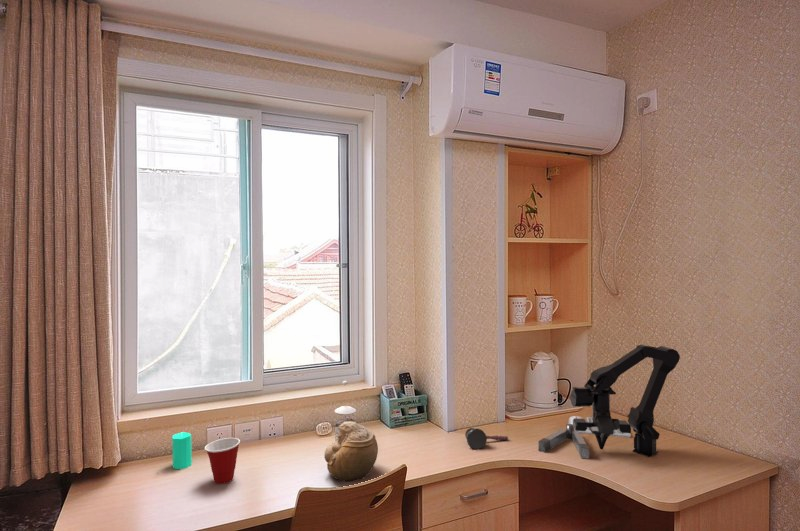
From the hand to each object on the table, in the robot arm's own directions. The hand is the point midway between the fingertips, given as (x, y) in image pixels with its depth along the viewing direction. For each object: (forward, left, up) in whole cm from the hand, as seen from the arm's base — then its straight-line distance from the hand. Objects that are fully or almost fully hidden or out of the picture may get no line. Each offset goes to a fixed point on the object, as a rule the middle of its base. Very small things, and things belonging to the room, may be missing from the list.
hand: (601, 449), depth 176 cm
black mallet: (+31, +26, -2) cm, 40 cm away
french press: (+62, +70, -2) cm, 93 cm away
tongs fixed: (+15, +5, -1) cm, 16 cm away
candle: (+81, +124, -2) cm, 148 cm away
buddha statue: (+40, +81, -2) cm, 90 cm away
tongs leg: (+7, +3, -1) cm, 7 cm away
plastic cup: (+61, +116, -2) cm, 131 cm away
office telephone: (+17, -24, -2) cm, 29 cm away
